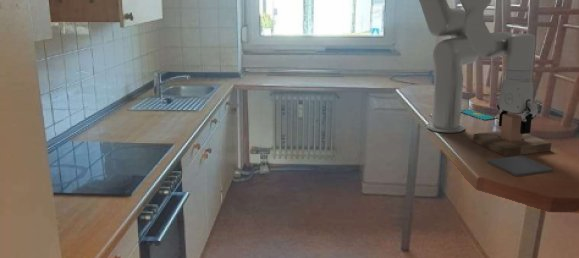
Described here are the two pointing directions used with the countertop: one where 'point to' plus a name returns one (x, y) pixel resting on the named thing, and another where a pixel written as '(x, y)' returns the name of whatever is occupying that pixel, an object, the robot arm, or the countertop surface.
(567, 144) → the countertop surface
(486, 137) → the pocket board
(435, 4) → the robot arm
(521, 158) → the mat
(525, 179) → the countertop surface
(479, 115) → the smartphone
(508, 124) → the block
